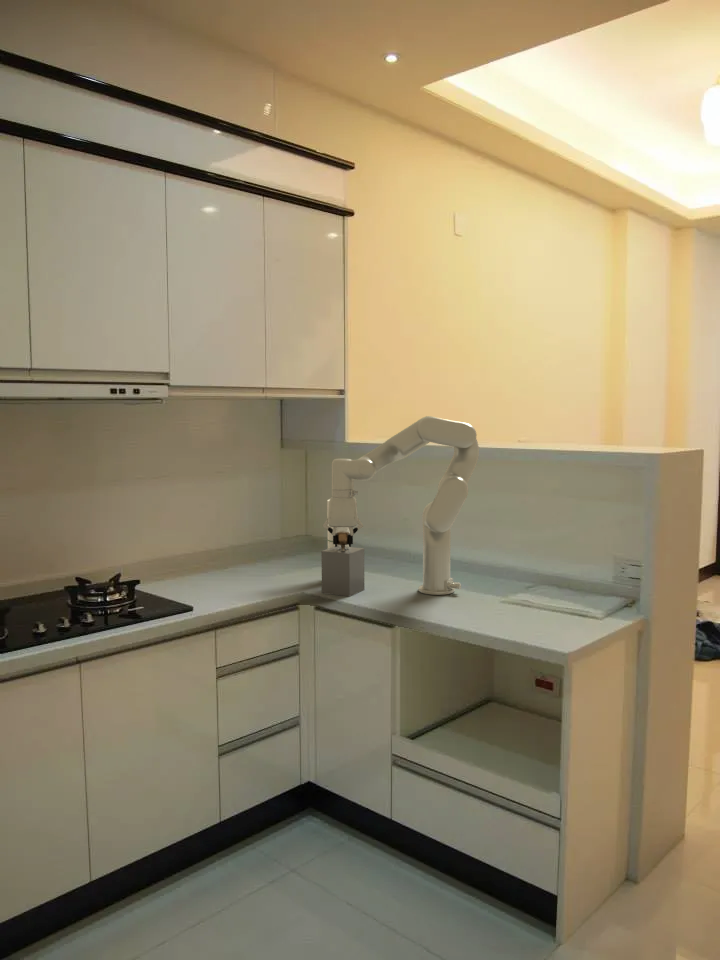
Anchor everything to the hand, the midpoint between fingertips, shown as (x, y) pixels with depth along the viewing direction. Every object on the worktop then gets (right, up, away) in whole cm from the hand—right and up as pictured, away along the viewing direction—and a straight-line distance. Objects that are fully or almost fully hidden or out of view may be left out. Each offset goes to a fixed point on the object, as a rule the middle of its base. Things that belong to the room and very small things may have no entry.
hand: (343, 545), depth 265 cm
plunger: (0, -15, +1) cm, 15 cm away
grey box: (0, -16, +2) cm, 16 cm away
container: (-2, -15, +19) cm, 24 cm away
